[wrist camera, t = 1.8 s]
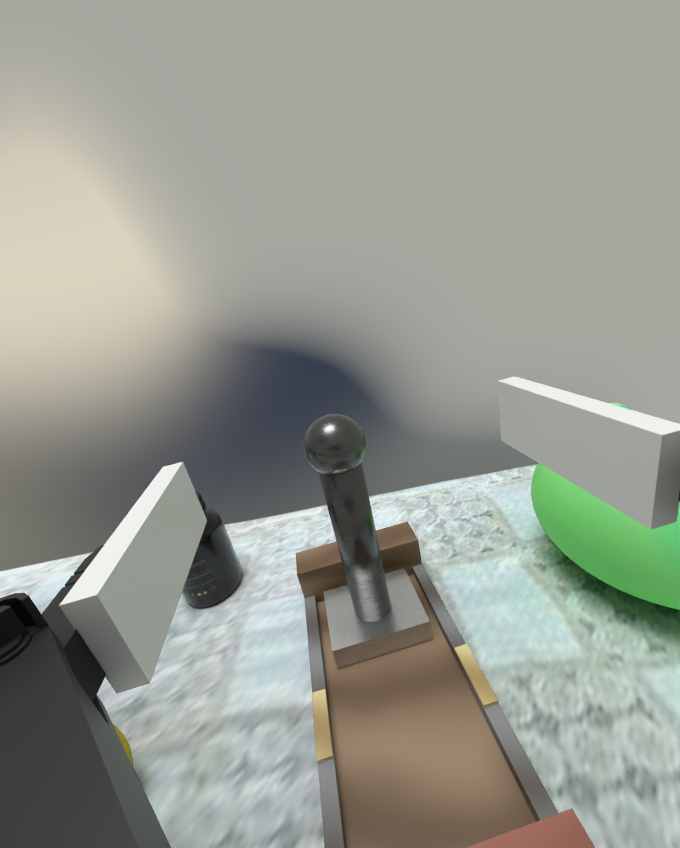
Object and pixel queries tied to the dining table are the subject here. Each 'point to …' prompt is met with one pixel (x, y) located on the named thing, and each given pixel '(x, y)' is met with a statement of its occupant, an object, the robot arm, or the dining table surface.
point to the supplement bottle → (212, 564)
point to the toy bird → (609, 539)
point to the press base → (418, 733)
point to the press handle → (360, 554)
